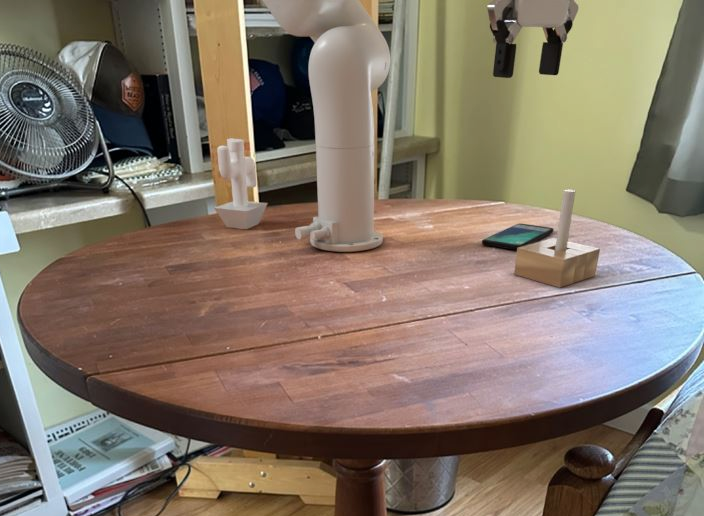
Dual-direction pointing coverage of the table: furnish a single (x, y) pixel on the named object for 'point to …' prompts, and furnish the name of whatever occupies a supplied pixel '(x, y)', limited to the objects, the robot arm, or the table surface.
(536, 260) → the pen stand
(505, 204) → the table surface
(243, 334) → the table surface
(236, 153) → the figurine
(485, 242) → the smartphone
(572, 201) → the white rod
